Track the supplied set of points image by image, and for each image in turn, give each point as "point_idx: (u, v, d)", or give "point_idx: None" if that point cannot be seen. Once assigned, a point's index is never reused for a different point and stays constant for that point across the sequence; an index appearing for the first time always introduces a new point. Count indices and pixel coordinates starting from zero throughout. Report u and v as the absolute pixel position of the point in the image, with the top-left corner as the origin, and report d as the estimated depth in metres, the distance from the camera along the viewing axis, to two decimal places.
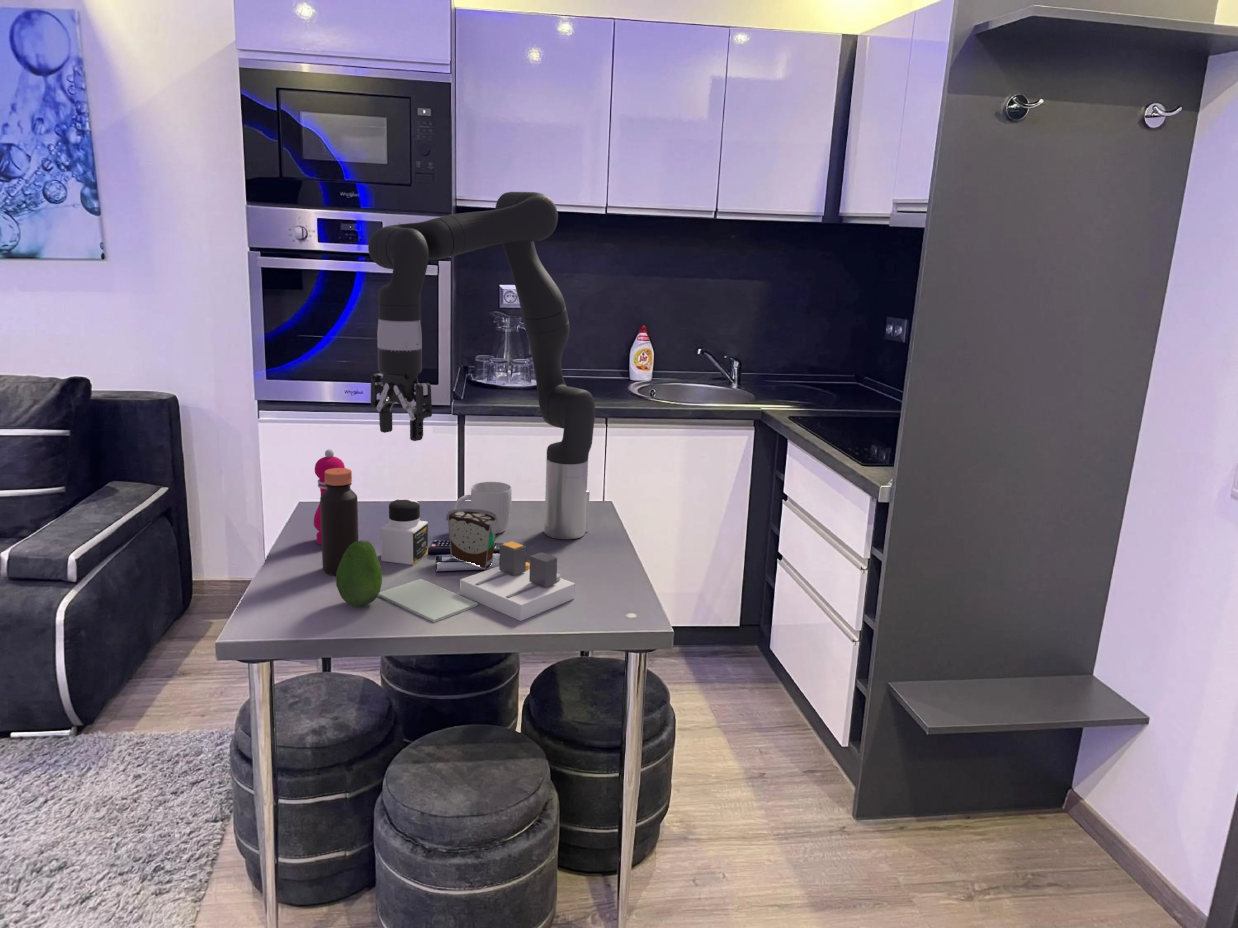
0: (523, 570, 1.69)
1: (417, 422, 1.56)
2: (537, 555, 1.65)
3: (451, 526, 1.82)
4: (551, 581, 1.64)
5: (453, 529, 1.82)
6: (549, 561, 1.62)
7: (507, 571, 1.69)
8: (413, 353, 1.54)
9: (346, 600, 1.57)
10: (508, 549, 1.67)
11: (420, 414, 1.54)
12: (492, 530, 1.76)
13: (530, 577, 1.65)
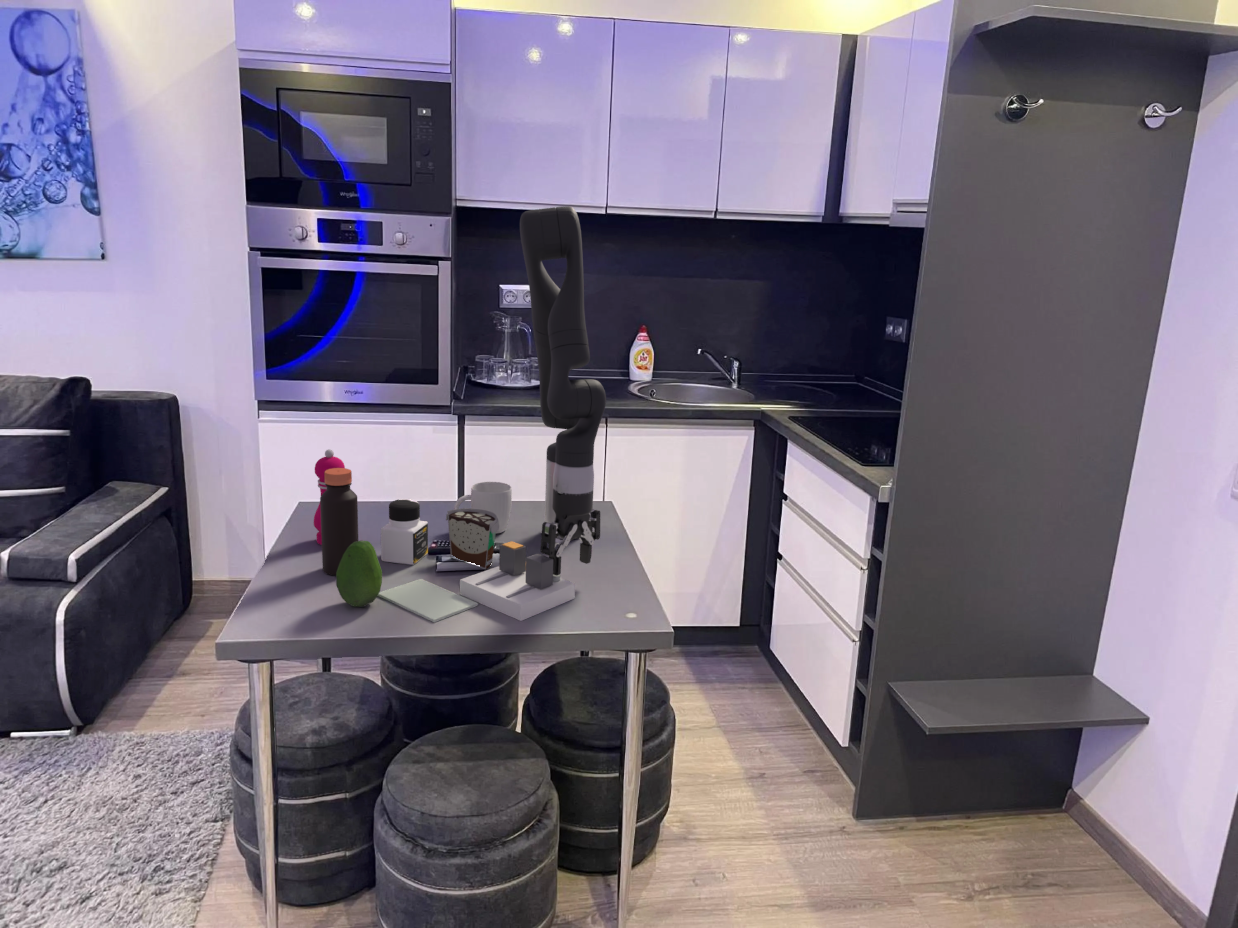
0: (523, 570, 1.69)
1: (591, 544, 1.73)
2: (533, 556, 1.64)
3: (451, 526, 1.82)
4: (547, 582, 1.63)
5: (453, 529, 1.82)
6: (545, 562, 1.62)
7: (507, 571, 1.69)
8: None
9: (346, 600, 1.57)
10: (508, 549, 1.67)
11: (599, 535, 1.73)
12: (492, 530, 1.76)
13: (526, 578, 1.64)
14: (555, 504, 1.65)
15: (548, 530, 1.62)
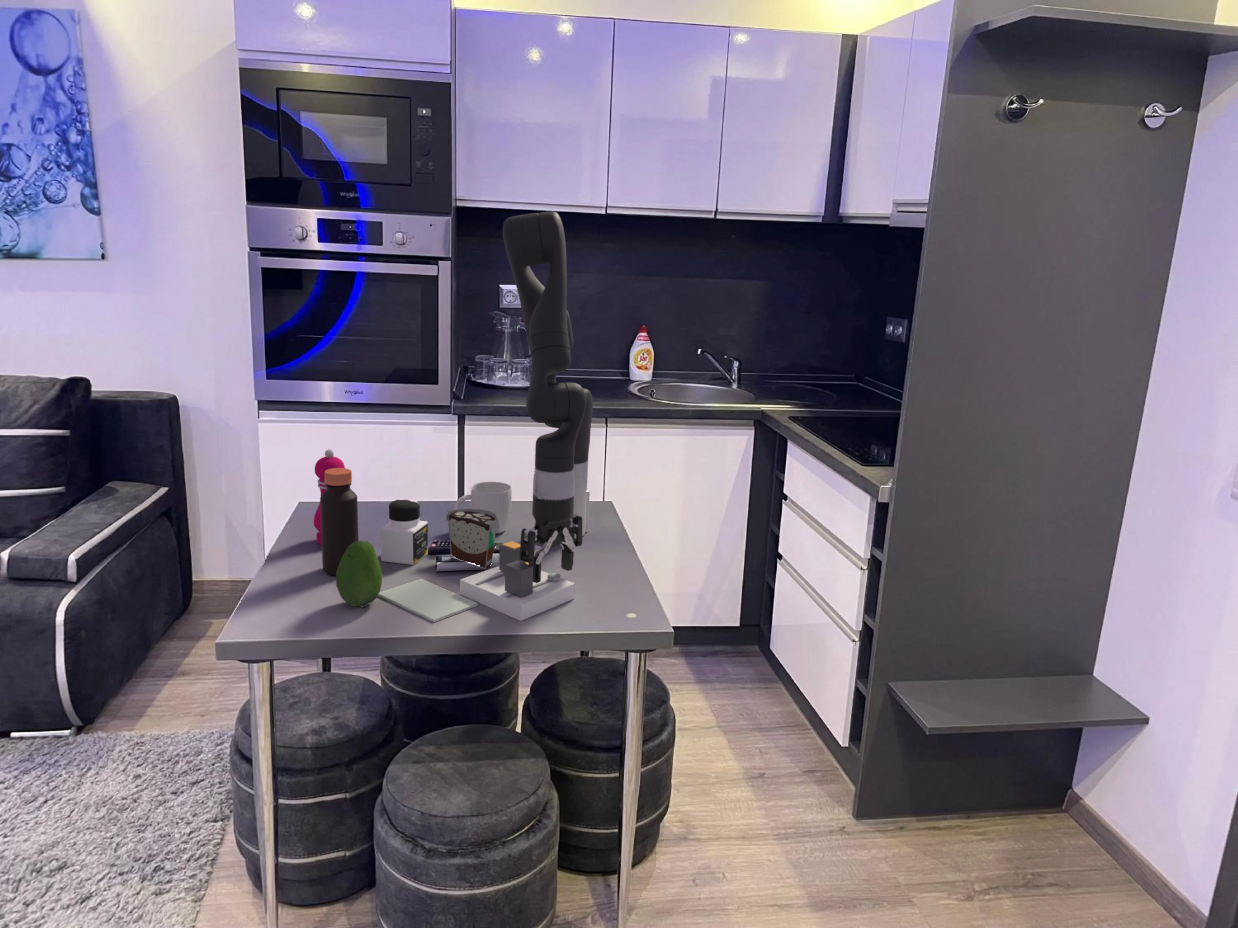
0: None
1: (573, 551, 1.69)
2: (513, 563, 1.60)
3: (451, 526, 1.82)
4: (527, 590, 1.59)
5: (453, 529, 1.82)
6: (525, 570, 1.58)
7: None
8: None
9: (346, 600, 1.57)
10: (508, 549, 1.67)
11: (581, 541, 1.70)
12: (492, 530, 1.76)
13: (506, 586, 1.60)
14: (535, 510, 1.61)
15: (527, 537, 1.59)
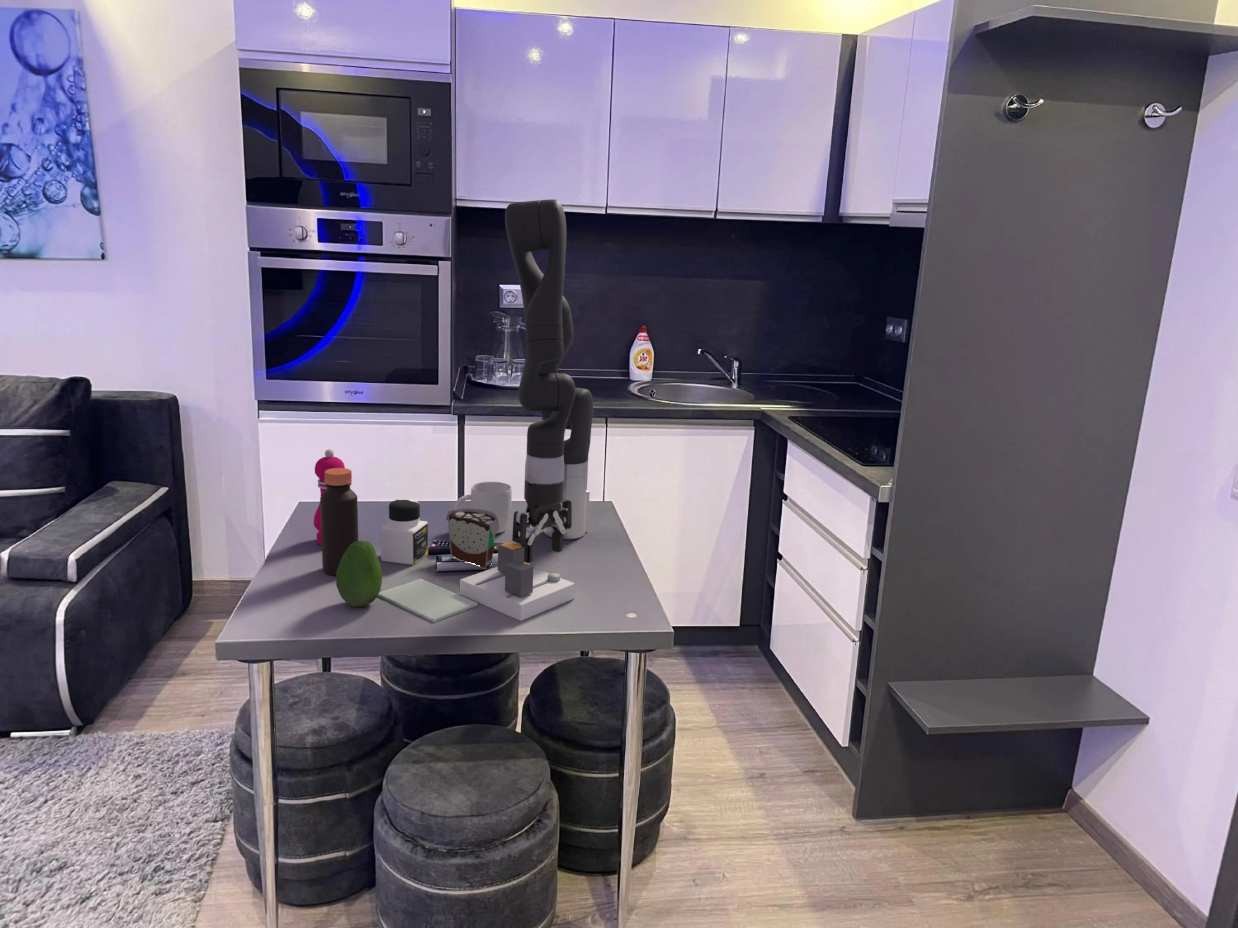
0: None
1: (562, 534, 1.78)
2: (513, 563, 1.60)
3: (451, 526, 1.82)
4: (527, 590, 1.59)
5: (453, 529, 1.82)
6: (525, 570, 1.58)
7: None
8: None
9: (346, 600, 1.57)
10: (506, 550, 1.67)
11: (570, 525, 1.79)
12: (492, 530, 1.76)
13: (506, 586, 1.60)
14: (526, 494, 1.70)
15: (519, 519, 1.68)
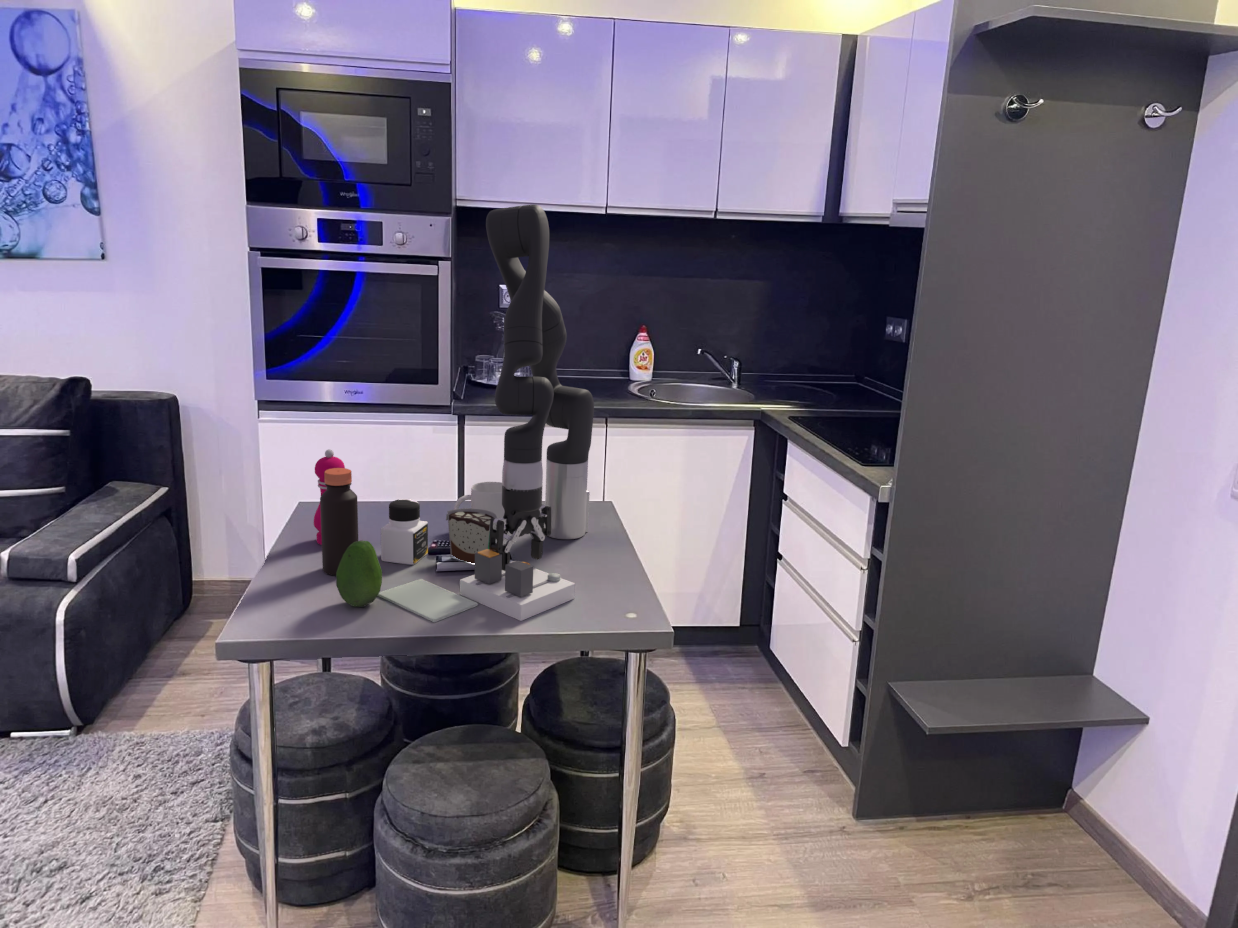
0: (499, 579, 1.65)
1: (542, 540, 1.74)
2: (513, 563, 1.60)
3: (451, 526, 1.82)
4: (527, 590, 1.59)
5: (453, 529, 1.82)
6: (525, 570, 1.58)
7: (483, 580, 1.64)
8: None
9: (346, 600, 1.57)
10: (483, 557, 1.63)
11: (550, 531, 1.74)
12: None
13: (506, 586, 1.60)
14: (504, 500, 1.66)
15: (496, 526, 1.63)
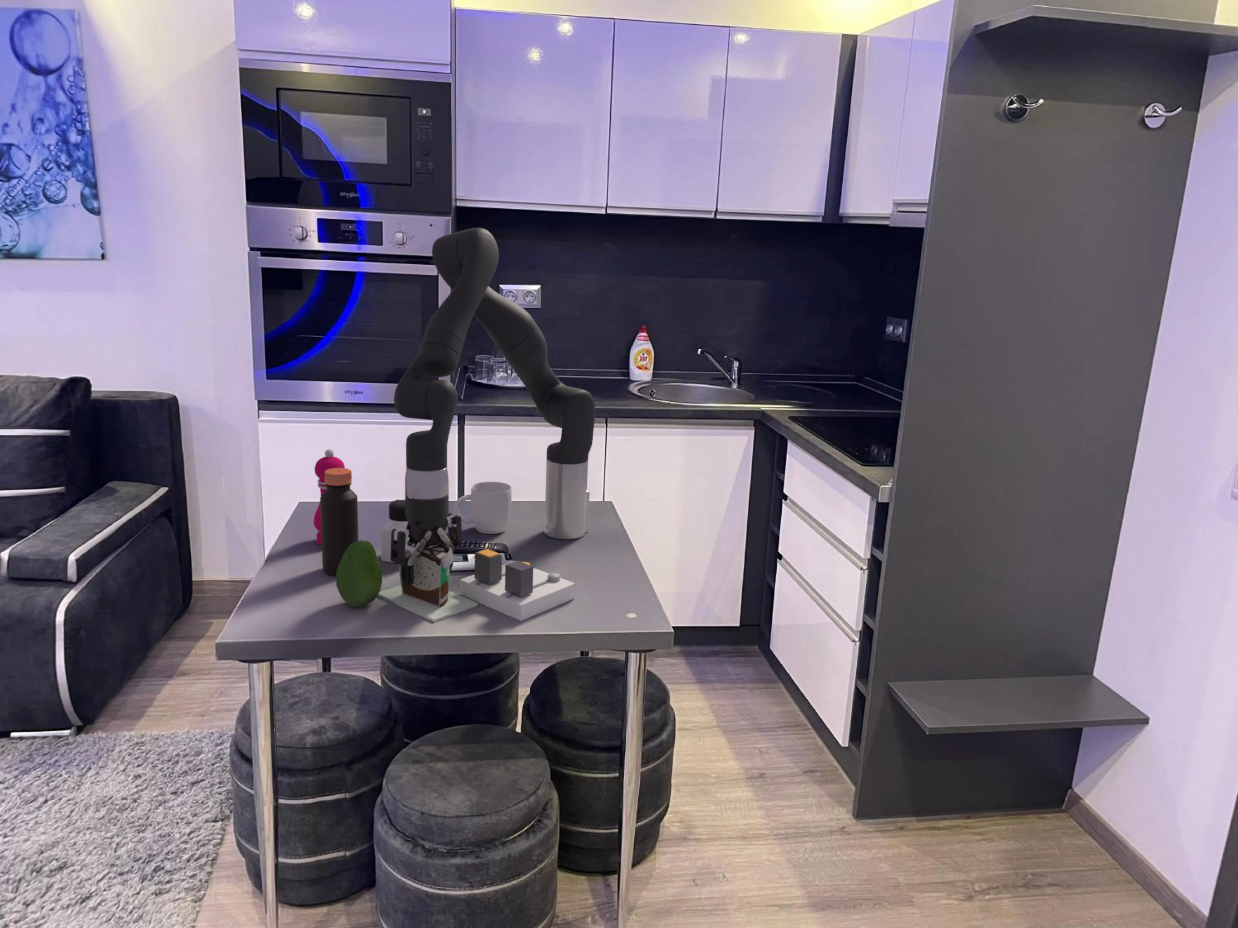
0: (499, 579, 1.65)
1: (452, 552, 1.64)
2: (513, 563, 1.60)
3: None
4: (527, 590, 1.59)
5: None
6: (525, 570, 1.58)
7: (483, 580, 1.64)
8: None
9: (346, 600, 1.57)
10: (483, 557, 1.63)
11: (461, 542, 1.65)
12: (444, 565, 1.56)
13: (506, 586, 1.60)
14: (406, 510, 1.56)
15: (397, 537, 1.54)
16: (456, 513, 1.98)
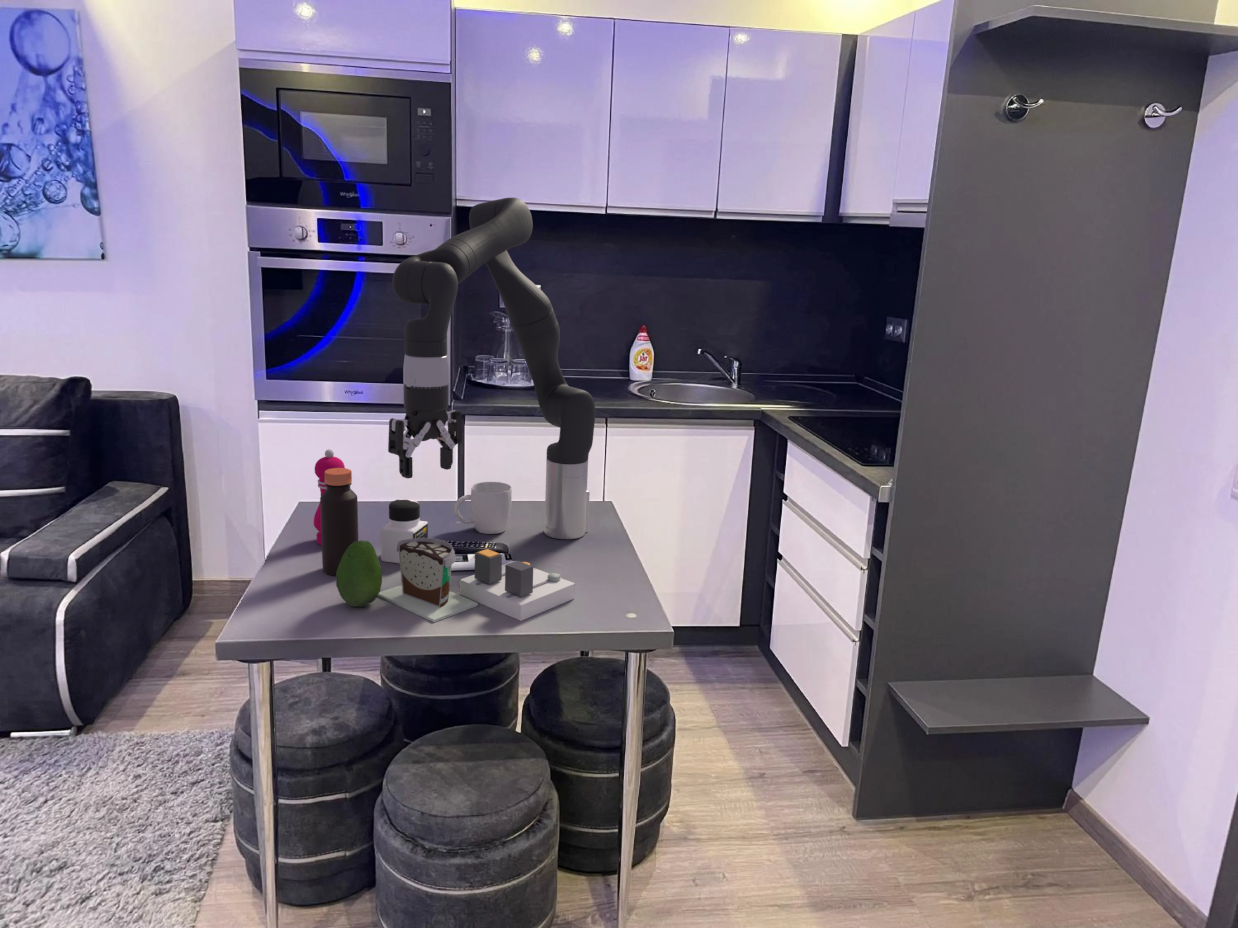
0: (499, 579, 1.65)
1: (452, 449, 1.59)
2: (513, 563, 1.60)
3: (402, 558, 1.62)
4: (527, 590, 1.59)
5: (404, 562, 1.62)
6: (525, 570, 1.58)
7: (483, 580, 1.64)
8: None
9: (346, 600, 1.57)
10: (483, 557, 1.63)
11: (461, 439, 1.60)
12: (446, 564, 1.56)
13: (506, 586, 1.60)
14: (405, 400, 1.51)
15: (395, 426, 1.49)
16: (456, 513, 1.98)
